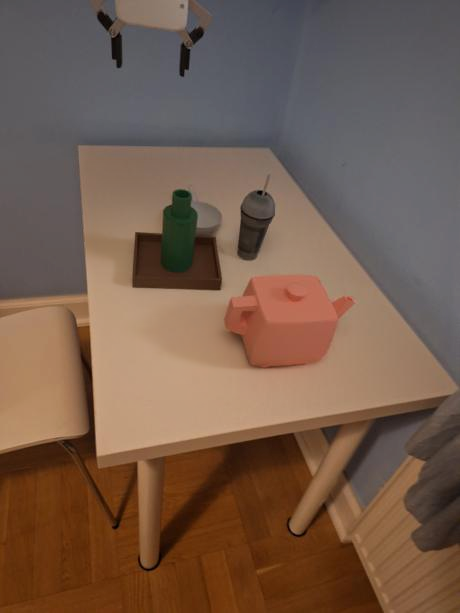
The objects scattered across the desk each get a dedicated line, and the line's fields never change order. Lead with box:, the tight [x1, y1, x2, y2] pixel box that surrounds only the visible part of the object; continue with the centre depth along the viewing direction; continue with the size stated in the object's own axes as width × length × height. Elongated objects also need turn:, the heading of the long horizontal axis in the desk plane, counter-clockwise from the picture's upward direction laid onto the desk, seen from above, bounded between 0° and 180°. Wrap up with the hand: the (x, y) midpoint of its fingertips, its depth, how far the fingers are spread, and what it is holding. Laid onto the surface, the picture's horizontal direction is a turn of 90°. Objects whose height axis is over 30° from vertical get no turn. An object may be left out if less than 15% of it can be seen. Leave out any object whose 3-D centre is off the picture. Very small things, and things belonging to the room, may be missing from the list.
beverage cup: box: [236, 174, 276, 261], centre depth 84 cm, size 7×7×20 cm
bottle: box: [161, 188, 198, 273], centre depth 78 cm, size 6×6×16 cm
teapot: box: [223, 274, 356, 369], centre depth 69 cm, size 22×13×14 cm, turn 101°
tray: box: [131, 231, 223, 291], centre depth 83 cm, size 17×14×3 cm
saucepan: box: [187, 183, 223, 236], centre depth 96 cm, size 11×18×4 cm, turn 13°
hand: (151, 69), depth 64 cm, fingers open, 9 cm apart
